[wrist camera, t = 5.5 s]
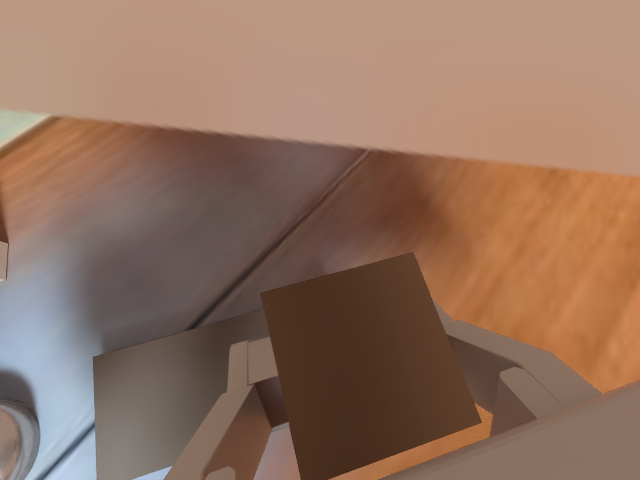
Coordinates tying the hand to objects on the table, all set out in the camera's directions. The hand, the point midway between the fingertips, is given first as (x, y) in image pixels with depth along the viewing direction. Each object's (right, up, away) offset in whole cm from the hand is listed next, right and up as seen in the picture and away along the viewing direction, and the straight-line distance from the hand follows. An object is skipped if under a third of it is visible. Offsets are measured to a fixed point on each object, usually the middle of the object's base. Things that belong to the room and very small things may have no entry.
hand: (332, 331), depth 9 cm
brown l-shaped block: (-4, -3, +5) cm, 7 cm away
